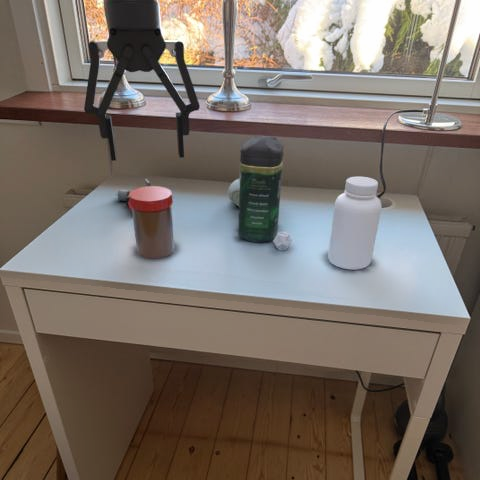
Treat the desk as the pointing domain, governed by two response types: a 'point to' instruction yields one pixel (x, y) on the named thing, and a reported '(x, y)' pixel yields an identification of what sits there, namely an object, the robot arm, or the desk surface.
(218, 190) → the desk surface
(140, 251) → the jam jar
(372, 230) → the pill bottle
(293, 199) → the desk surface
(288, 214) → the desk surface
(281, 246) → the game die
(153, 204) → the lid
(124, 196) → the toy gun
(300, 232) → the desk surface
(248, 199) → the coffee jar
